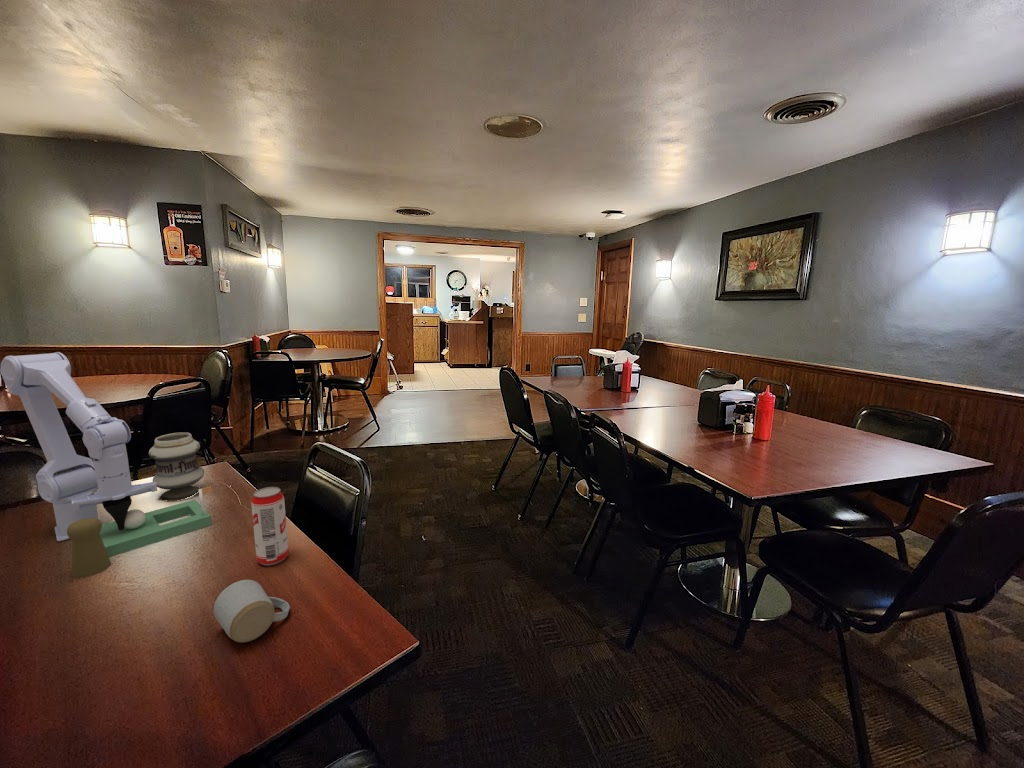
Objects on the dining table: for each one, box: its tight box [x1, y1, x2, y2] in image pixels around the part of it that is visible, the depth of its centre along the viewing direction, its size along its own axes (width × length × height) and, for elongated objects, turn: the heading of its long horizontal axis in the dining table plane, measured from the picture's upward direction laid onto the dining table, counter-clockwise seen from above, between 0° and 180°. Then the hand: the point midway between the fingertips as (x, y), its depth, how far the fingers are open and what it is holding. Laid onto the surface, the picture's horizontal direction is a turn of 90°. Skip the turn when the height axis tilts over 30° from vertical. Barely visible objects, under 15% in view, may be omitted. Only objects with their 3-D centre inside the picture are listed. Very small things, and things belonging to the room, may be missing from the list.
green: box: [99, 499, 213, 558], centre depth 106 cm, size 14×21×2 cm, turn 139°
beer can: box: [250, 486, 290, 567], centre depth 94 cm, size 6×6×16 cm
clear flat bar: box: [198, 486, 213, 516], centre depth 110 cm, size 1×3×7 cm, turn 139°
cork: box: [67, 518, 112, 579], centre depth 90 cm, size 6×6×11 cm
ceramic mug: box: [213, 579, 291, 644], centre depth 75 cm, size 11×8×8 cm
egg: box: [124, 508, 146, 529], centre depth 103 cm, size 4×4×4 cm
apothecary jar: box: [148, 431, 205, 502], centre depth 126 cm, size 12×12×18 cm
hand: (121, 528), depth 101 cm, fingers closed, pressing on egg
